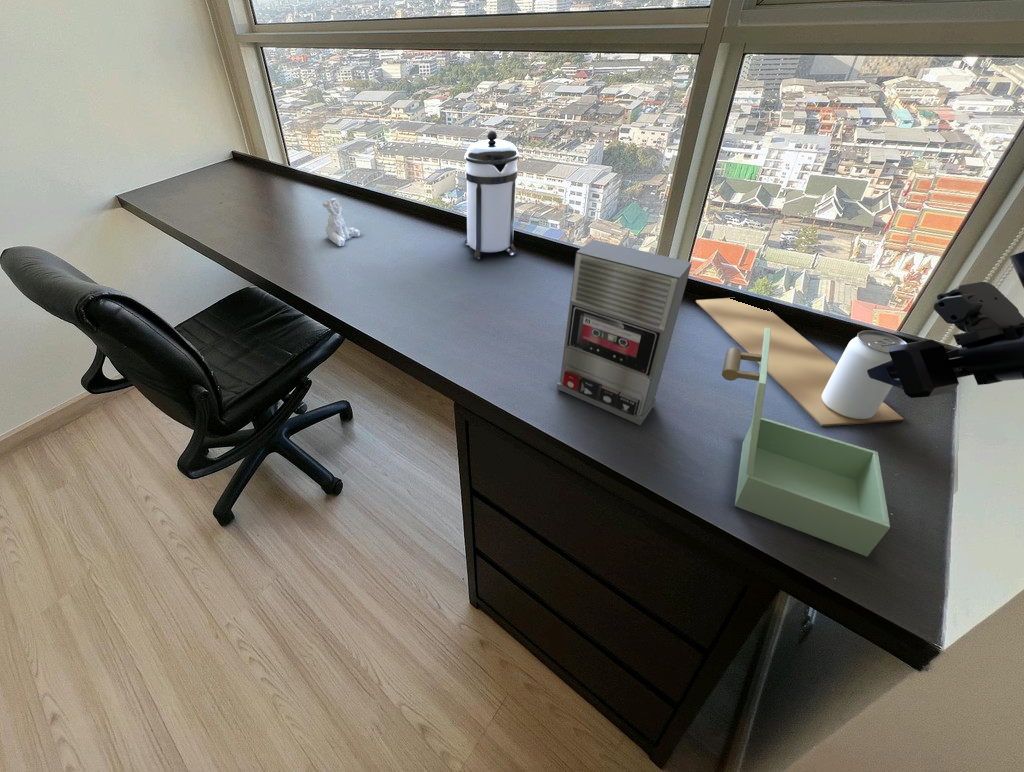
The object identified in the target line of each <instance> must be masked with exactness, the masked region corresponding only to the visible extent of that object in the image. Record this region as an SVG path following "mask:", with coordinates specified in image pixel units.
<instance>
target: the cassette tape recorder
mask: <svg viewBox="0 0 1024 772" xmlns="http://www.w3.org/2000/svg"><path fill="white" fill-rule="evenodd" d="M692 264H693V262H692V261H688V260H683V259H680V258H679V259H678V258H674V257H670V256H666V255H662V254H658V253H653V252H649V251H644V250H640V249H636V248H631V247H627V246H623V245H619V244H614V243H611V242H605V241H602V240H597V239H591V240H590V241H588V242H587V243H586V244H585V245H583V246H581V248H579V249H578V250H577V251H576V252H575V258H574V266H573V275H572V281H571V289H570V297H569V305H568V313H567V322H566V329H565V338H564V346H563V353H562V361H561V370H560V377H559V381H558V382H557V383H556V389H557V390H559V391H561V392H563V393H566V394H568V395H570V396H572V397H575V398H577V399H579V400H581V401H584V402H586V403H587V404H591V405H593V406H594V407H598V408H600V409H601V410H605V411H607V412H609V413H612V414H614V415H616V416H618V417H620V418H623V419H625V420H627V421H629V422H632V423H633V424H636V425H638V426H642V424H643V422H644V421H645V420H646V418H647V416H648V415H649V414H650V412H651V410H652V409H653V407H654V406H655V403H656V400H657V398H656V395H657V391H658V389H659V384H660V381H661V377H662V374H663V370H664V367H665V363H666V359H667V356H668V352H669V348H670V346H671V345H670V344H671V341H672V337H673V334H674V330H675V326H676V323H677V320H678V319H677V318H678V315H679V311H680V308H681V304H682V301H683V298H684V293H685V290H686V286H687V283H688V279H689V275H690V271H691V268H692Z"/></svg>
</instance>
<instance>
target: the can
mask: <svg viewBox="0 0 1024 772" xmlns="http://www.w3.org/2000/svg"><path fill="white" fill-rule="evenodd" d="M902 344H908V342H906V341H905V340H903V339H902V338H900V337H898V336H896V335H894V334H891V333H887V332H885V331H880V330H862V331H859V332H857V335H856V336H855V337H853V338H852V339H851V340H850V341H849V342H848V344H847V346H846V347H845V349H844V350H843V353H842V355H841V356H840V358H839V360H838V362H837V363H836V364H837V366H836V368H835V370H834V372H833V374H832V375H831V377H830V379H829V381H828V383H827V385H826V387H825V389H824V391H823V393H822V400H823V402H824V404H825V405H826V406H827V407H828V408H829V409H830V410H832V411H834V412H835V413H837V414H839V415H842V416H844V417H847V418H851V419H867V418H871V417H873V416H874V415H875V413H876V412H877V410H878V408H879V407H880V405H881V404H882V402H884V400H886V398H887V396H888V394H889V393H890V391H891V389H892V388H893V387H894V386H893V385H890V384H887V383H884V382H881V381H878V380H875V379H872V378H870V377H869V375H868V373H867V370H868V369H871V368H873V367H876V366H878V365H881V364H883V363H886V362H888V361H891V360H892V359H891V356H890V354H889V350H890V348H891V347H892V346H897V345H902Z"/></svg>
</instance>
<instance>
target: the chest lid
mask: <svg viewBox="0 0 1024 772" xmlns="http://www.w3.org/2000/svg"><path fill="white" fill-rule="evenodd" d="M770 334H771V328H765V332H764V339H763V346H762V353H761V354H754V353H747V352H746V351H742V350H741V349H739V348H738V347H729V348H728V349H727V350H726V352H725V357H724V362H723V366H722V372H721V376H722V378H723V379H725V380H726V381H730V382H731V381H735V380H737V379H741V380H743V379H744V380H749V381H756V390H755V396H754V404H753V410H752V418H751V419H752V420H751V423H752V427H751V436H750V445H749V453H748V462H747V471H746V474H747V475H751V476H752V474H753V467H754V460H755V454H756V447H757V441H758V434H759V427H760V421H761V417H762V413H763V406H764V400H765V394H766V388H767V387H766V386H767V379H768V378H767V377H768V373H767V368H768V356H769V345H770ZM741 361H750V362H756V361H757V362H760V365H759V366H758V367H759V368H758V372H754V371H748V370H741V369H740V368H741V367H740V366H741V363H742V362H741ZM757 362H756V363H757Z"/></svg>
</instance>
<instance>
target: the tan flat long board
mask: <svg viewBox="0 0 1024 772" xmlns="http://www.w3.org/2000/svg"><path fill="white" fill-rule="evenodd" d="M730 298H731V297H723V298H707V299H696V300H695V303H696V304H697V305H698V306H699V307H700V308H701V309H702V310H703V311H704V312H705V313H706V314H707V315H708V316H709V317H710V318H711V319H712V320H713V321H714V322H715V323H717V325H718V326H719V327H720V328H721V329H722V330H723V331H725V333H726V334H727V335H728V336H729V337H731V339H733V341H734V342H736V344H737V345H738V346H740V348H742V350H744V352H745V353H754V354H761V353H762V346H763V339H764V332H765V328H771V334H770V345H769V356H768V368H767V375H769V376H770V377H771V378H772V379H773V380H774V381H775V383H777V385H779V386H780V387H781V388H782V389H783V390H784V391H785V392H786V393H787V394H788V395H789V396H790V397H791V398H792V399H793V400H794V401H795V402H796V403H797V404H798V405H799V406H800V407H801V408H802V409H803V410H804V411H805V412H806V413H807V414H808V415H809V416H810V417H811V418H812V419H813V420H814V421H815V422H817V424H818V425H820V427H831V426H833V427H834V426H849V425H861V424H876V423H890V422H902V421H903V422H904V420H905V418H903V417H902V416H901V415H900V414H899V413H898V412H896V411H895V410H894V409H893V408H891V407H890V406H889V405H887V403H885V402H884V401H883V402H882V404H881V405H880V407H879V408H878V410H877V412H876V413H875V415H874V416H873V417H871V418H867V419H851V418H847V417H844V416H842V415H839V414H837V413H835V412H834V411H832V410H830V409H829V408H828V407H827V406H826V405H825V404H824V402H823V400H822V393H823V391H824V389H825V387H826V385H827V383H828V381H829V379H830V377H831V375H832V374H833V372H834V370H835V368H836V366H837V364H838V363H836V362H835V361H834V360H832V359H831V358H829V357H828V356H827V355H826V354H825V353H823V352H822V351H821V350H820V349H819V348H817V347H816V346H815V345H814V344H812V343H811V341H809V340H807V339H806V338H805V337H804V336H802V334H800V333H799V332H798V331H796V330H795V329H794V328H793V327H792V326H790V325H789V324H788V323H786V322H785V321H784V320H783V319H781V318H780V317H779V316H778V315H777V314H776V313H774V312H773V311H772V310H770V311H767V310H763V309H760V308H757V307H754V306H751V305H748V304H745V303H742V302H738V301H736V300H733V299H730ZM771 311H772V312H771ZM755 362H756V363H757V364H758V365H759V366H760V362H757V361H755Z"/></svg>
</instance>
